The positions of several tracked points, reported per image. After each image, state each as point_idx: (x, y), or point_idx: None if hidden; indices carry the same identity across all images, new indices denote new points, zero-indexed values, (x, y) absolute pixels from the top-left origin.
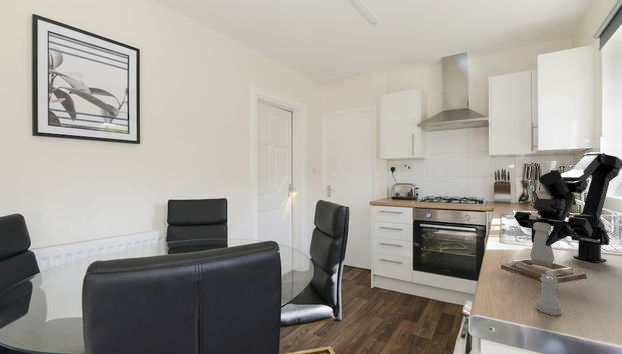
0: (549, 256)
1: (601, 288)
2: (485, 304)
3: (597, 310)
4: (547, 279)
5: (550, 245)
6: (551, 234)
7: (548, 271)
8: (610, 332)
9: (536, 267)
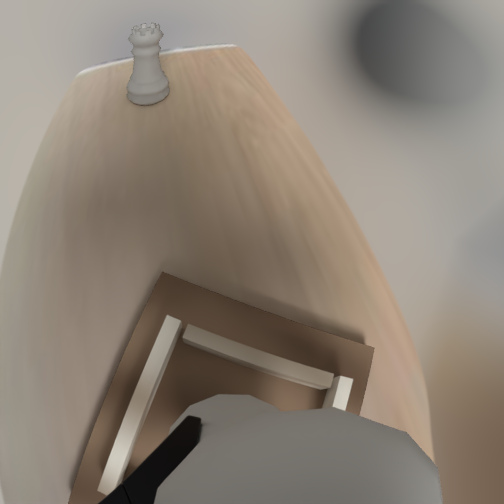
0: (179, 422)
1: (18, 371)
2: (244, 66)
3: (59, 157)
4: (148, 27)
5: None
6: (152, 499)
7: (167, 319)
8: (70, 94)
9: (228, 349)
